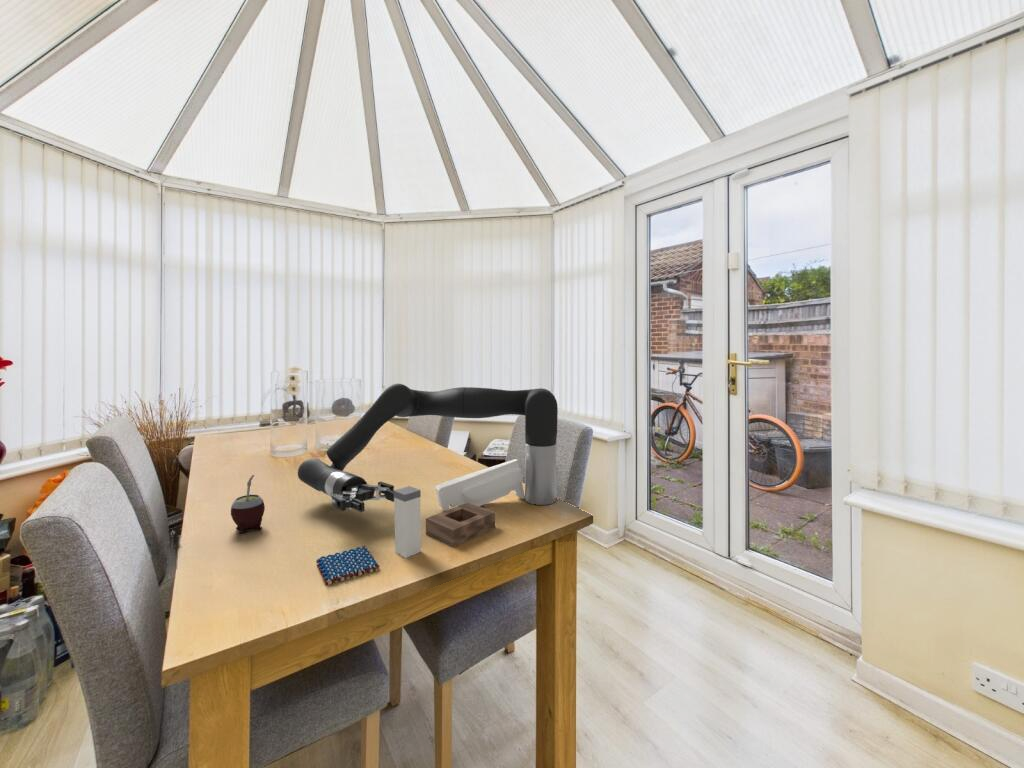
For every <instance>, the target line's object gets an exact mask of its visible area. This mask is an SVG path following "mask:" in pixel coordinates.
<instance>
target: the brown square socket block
mask: <svg viewBox="0 0 1024 768" xmlns="http://www.w3.org/2000/svg"><path fill="white" fill-rule="evenodd" d="M495 528H496V511H493V510H491V509H488V508H485V507H483V506H477V505H474V504H471V503H465V504H463V505H460V506H456V507H453V508H452V507H451V508H450V509H447V510H444V511H442V512H438V513H436V514H434V515H431V516H429V517H426V518H425V535H426V536H429V537H431V538H433V539H435V540H437V541H439V542H441V543H443V544H446V545H448V546H450V547H452V548H455V547H457V546H459V545H461V544H463V543H465V542H467V541H470V540H471V539H474V538H476V537H478V536H480V535H482V534H485V533H487V532H488V531H491V530H492V529H493V530H494V529H495Z"/></svg>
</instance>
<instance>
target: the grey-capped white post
mask: <svg viewBox="0 0 1024 768" xmlns="http://www.w3.org/2000/svg"><path fill="white" fill-rule="evenodd" d="M421 491H422V490H421V489H419V488H416V487H413V486H411V485H409V486H405V487H402V488H397V489H394V502H393V510H394V515H393V516H394V553H396V554H397V555H399V554H400V555H399V556H402V557H403V556H404V557H403V558H405V559H407V558H409V557H412V556H414V555H416V554H418V553H421V552H422V533H421V532H422V531H421V530H422V529H421V527H422V526H421V522H422V521H421V513H422V512H421V497H422V496H421ZM411 555H412V556H411Z"/></svg>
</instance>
